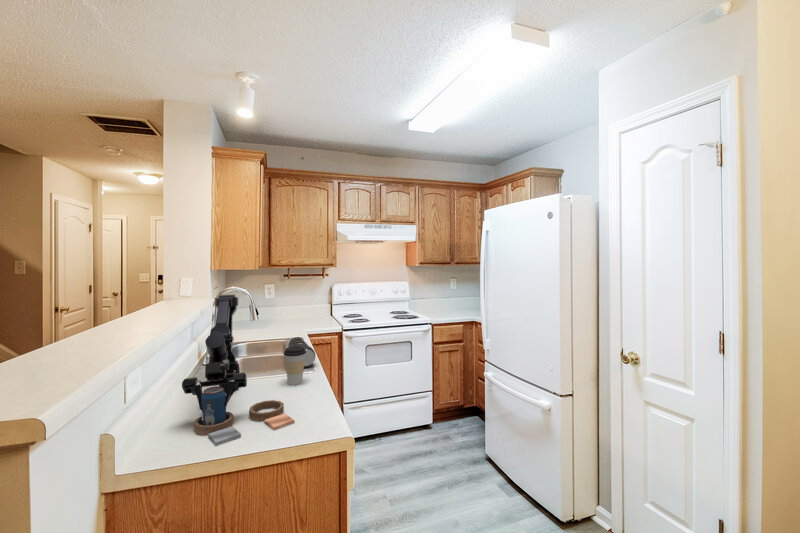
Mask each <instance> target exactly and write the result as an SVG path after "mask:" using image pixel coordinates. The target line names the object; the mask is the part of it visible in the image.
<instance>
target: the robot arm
mask: <svg viewBox="0 0 800 533" xmlns="http://www.w3.org/2000/svg"><path fill="white" fill-rule="evenodd" d="M214 306H215V308H217V312H216V319H215V325H214V326H213V327H212V328H211V329H210V334H209V335H208V336H207V338H206V339H205V341H204V342H205V347H206V351H207V354H208V355H209V356H208V362H207V363H205V366H204V367H205V368H204V369H205V370H204V374H205V375H204V377H205V379H206V380H200V379H198V377H196V376H195V377H188V378H187V377H186V378H184V379H183V380H182V381H181V388H182V390H183V393H184V394H187V395H188V394H192V396H196V398H197V402H198V407H199V410H200V411H202V398H201V397H202V395H203V393H204V391H203V387H205V388H208V387H216V386H219V387H223V388H224V391H225V392H226V398H225V407H226V408H227V406H228V404H229V402H230V400H231V398H232V397H233V395H234V394H235V392H236V391H239V390H240V389H239V388H246V387H247V384H248V380H247V379H248V378H247V373H246V372H240V370H241V368H240V364H239V363H238V362H239V361H238V360H237V356H236V355H235V353H234V352H233V342H234V336H233V316H234V314H236V312H237V311H238V310H237V309H238V306H239V297H238V296H236V294H224V295H223V294H220V295H219V296H218V297H216V298H214Z"/></svg>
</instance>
